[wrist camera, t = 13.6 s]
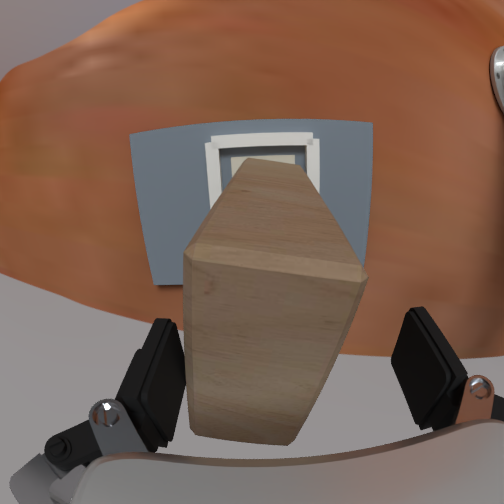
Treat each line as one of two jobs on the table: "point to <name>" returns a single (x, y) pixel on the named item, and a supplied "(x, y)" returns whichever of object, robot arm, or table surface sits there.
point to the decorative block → (265, 305)
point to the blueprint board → (225, 166)
